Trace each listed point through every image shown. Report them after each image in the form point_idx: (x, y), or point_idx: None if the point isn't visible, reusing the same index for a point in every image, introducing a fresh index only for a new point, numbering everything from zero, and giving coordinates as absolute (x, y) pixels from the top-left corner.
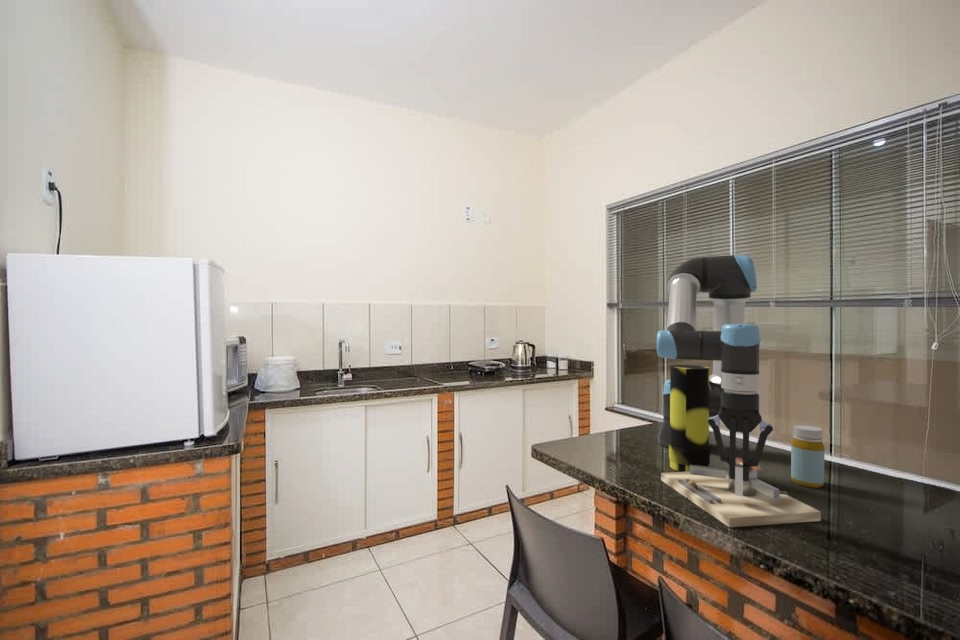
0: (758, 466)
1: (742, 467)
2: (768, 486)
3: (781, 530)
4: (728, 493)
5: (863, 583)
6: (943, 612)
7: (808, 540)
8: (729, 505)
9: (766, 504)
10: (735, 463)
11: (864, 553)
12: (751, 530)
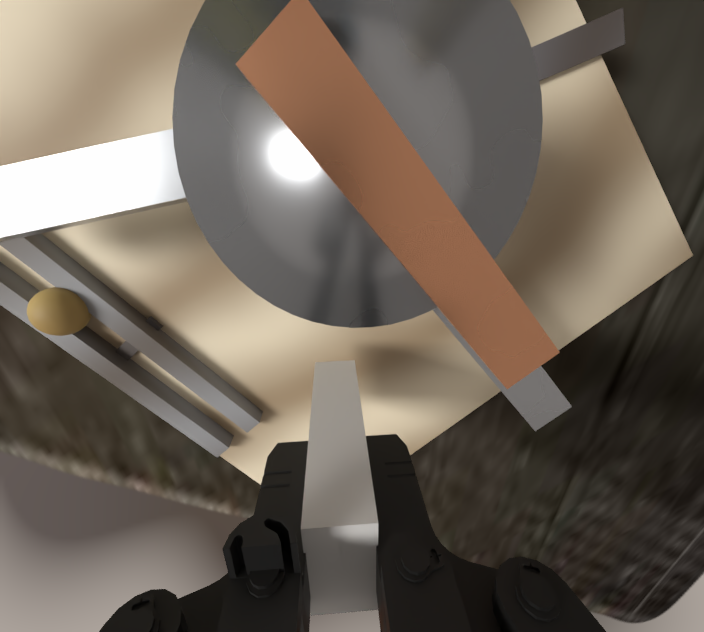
0: (538, 327)
1: (374, 599)
2: (516, 392)
3: (473, 421)
4: None
5: (589, 568)
6: (686, 581)
7: (539, 443)
8: (300, 420)
9: None
10: (308, 628)
11: (670, 436)
12: None
